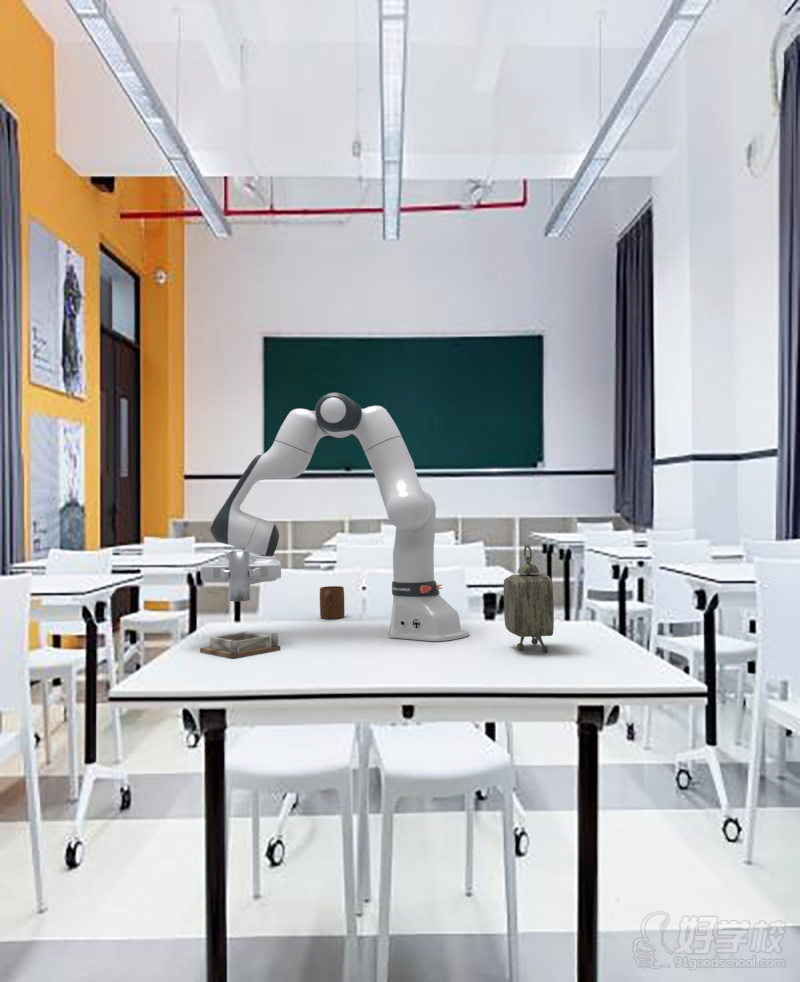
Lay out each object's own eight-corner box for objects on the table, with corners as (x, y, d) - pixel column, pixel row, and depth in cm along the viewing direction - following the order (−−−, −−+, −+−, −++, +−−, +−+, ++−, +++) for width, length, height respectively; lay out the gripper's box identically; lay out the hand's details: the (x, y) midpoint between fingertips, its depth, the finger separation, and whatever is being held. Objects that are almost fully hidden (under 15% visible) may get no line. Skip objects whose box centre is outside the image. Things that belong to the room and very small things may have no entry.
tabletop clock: (554, 654, 197) (552, 546, 197) (516, 655, 197) (513, 547, 197) (540, 643, 212) (537, 542, 212) (504, 644, 211) (501, 543, 211)
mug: (338, 621, 256) (338, 590, 256) (314, 621, 257) (313, 590, 257) (346, 615, 268) (346, 585, 268) (323, 616, 269) (322, 586, 269)
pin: (254, 599, 212) (253, 551, 212) (237, 602, 208) (236, 552, 208) (242, 598, 215) (241, 550, 215) (225, 600, 212) (224, 552, 212)
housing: (280, 650, 211) (280, 633, 211) (233, 658, 201) (232, 641, 201) (246, 644, 220) (246, 628, 220) (200, 652, 210) (199, 635, 210)
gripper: (203, 558, 223) (195, 562, 210) (282, 555, 225) (279, 560, 212) (203, 582, 223) (196, 588, 210) (282, 579, 225) (280, 585, 212)
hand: (239, 574), depth 211 cm, fingers closed on pin, 5 cm apart
